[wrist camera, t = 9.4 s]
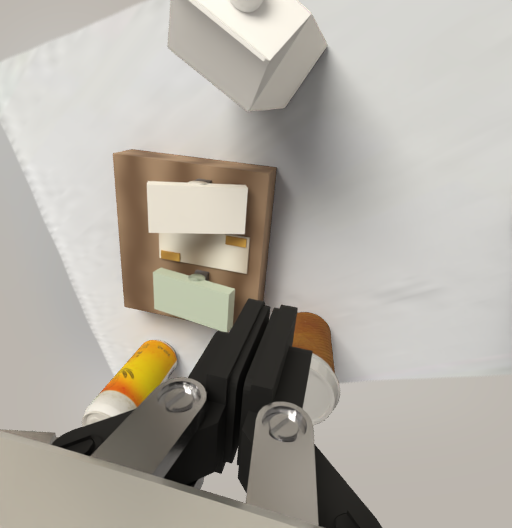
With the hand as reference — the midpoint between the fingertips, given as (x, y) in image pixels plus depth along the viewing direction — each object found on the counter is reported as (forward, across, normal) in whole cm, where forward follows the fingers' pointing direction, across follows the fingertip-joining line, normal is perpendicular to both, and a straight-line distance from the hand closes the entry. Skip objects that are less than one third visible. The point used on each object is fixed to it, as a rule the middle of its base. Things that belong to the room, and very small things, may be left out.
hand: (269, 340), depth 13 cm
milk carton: (+32, +7, -11) cm, 35 cm away
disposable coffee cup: (+32, 0, +21) cm, 38 cm away
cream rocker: (+26, +13, +4) cm, 29 cm away
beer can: (+32, +21, +30) cm, 49 cm away
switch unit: (+32, +15, +10) cm, 37 cm away
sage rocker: (+26, +13, +15) cm, 33 cm away
